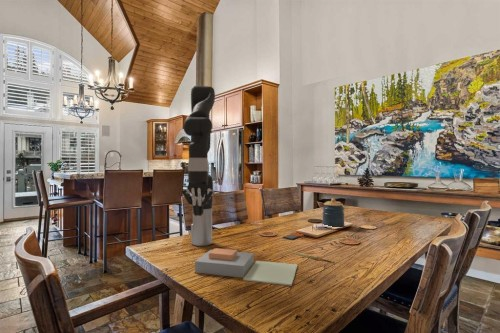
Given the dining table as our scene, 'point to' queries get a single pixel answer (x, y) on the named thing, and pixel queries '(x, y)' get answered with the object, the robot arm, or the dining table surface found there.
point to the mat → (272, 273)
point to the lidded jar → (333, 213)
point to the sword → (311, 257)
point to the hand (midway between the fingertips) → (198, 215)
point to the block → (223, 254)
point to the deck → (225, 265)
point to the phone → (293, 236)
